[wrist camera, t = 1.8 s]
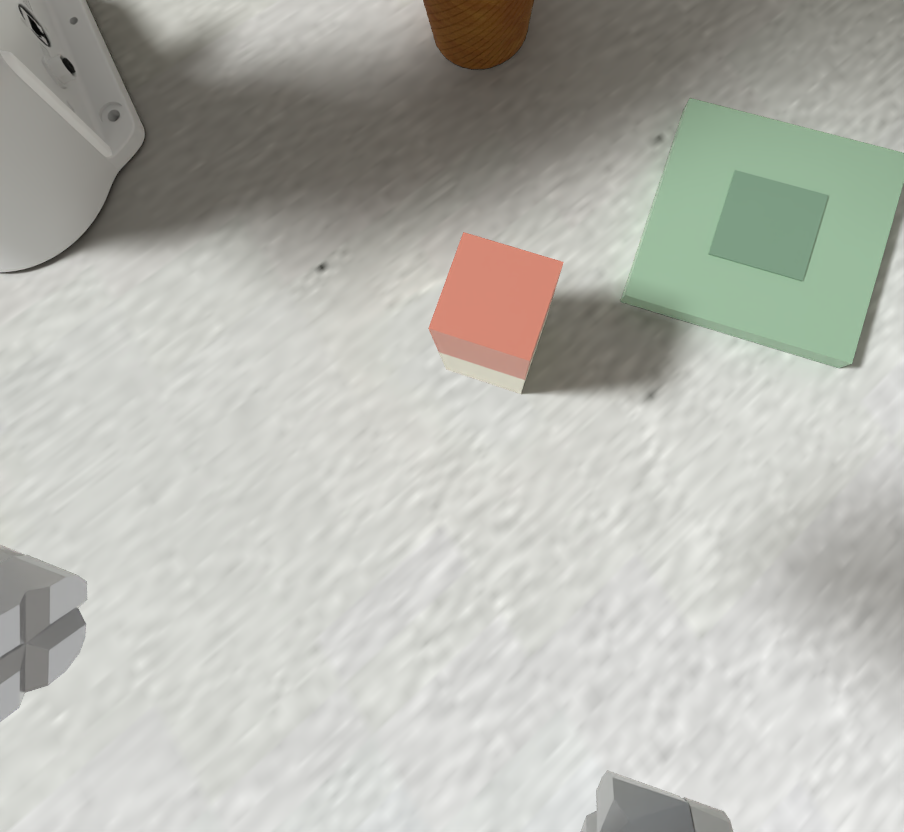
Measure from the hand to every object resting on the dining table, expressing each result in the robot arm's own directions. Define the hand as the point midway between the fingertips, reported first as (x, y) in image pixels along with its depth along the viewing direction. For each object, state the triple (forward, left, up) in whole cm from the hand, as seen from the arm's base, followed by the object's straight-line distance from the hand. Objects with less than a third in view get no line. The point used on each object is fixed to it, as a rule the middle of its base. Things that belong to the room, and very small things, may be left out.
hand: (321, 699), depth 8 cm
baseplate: (-12, +23, -25) cm, 36 cm away
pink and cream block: (-10, +6, -25) cm, 28 cm away
